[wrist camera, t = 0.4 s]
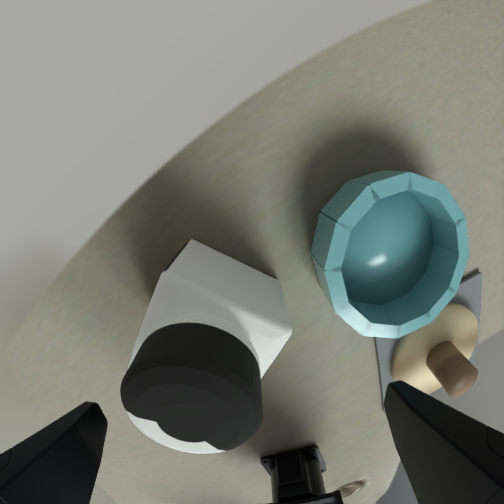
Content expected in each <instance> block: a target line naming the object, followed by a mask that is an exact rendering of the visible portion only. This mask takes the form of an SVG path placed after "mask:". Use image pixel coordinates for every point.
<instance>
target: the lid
mask: <svg viewBox="0 0 504 504" xmlns="http://www.w3.org/2000/svg"><path fill="white" fill-rule="evenodd" d="M477 337H478V322H477V319H476V317H475V315H474V314H473V313H472V312H471V311H470V310H469V309H467V308H466V307H465V306H464V305H461V304H459V303H448V304H447V305H446V306H445V307H444V309H443V310H442V311H441V312H440V313H439V314H438V315H437V317H436V318H435V319H434V320H433V321H432V322H430V324H428V325H426V326H423V327H421V328H419V329H417V330H415V331H413V332H411V333H409V334H406V335H404V336H402V337H401V339H400V341H399V342H398V344H397V346H396V348H395V350H394V353H393V356H392V359H391V366H390V371H391V376H392V379H393V381H398V380H402V381H404V382H406V383H408V384H410V385H411V386H413V387H415V388H417V389H419V390H420V391H422V392H424V393H426V394H428V393H431V392H433V391H435V390H437V389H439V388H441V387H443V388H444V389H445V390H446V392H447V393H448V394H449V396H450V397H452V398H455V397H459V396H461V395H462V394H464V393H465V392H466V391H467V390H468V389H469V388H470V387H471V386H472V385H473V383H474V382H475V380H476V378H477V375H478V371H477V369H476V368H475V367H474V366H473V364H472V363H471V362H470V361H469V358H470V356H471V355H472V352H473V350H474V348H475V345H476V342H477Z"/></svg>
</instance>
